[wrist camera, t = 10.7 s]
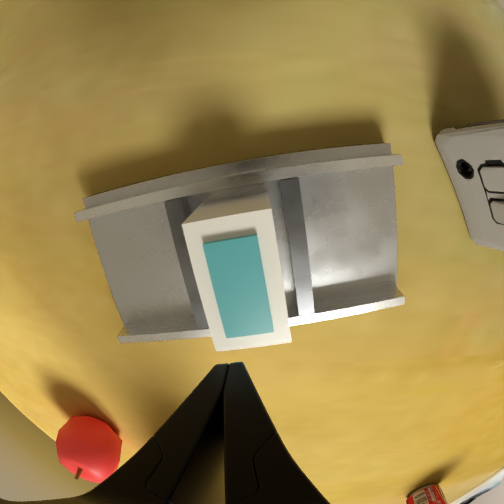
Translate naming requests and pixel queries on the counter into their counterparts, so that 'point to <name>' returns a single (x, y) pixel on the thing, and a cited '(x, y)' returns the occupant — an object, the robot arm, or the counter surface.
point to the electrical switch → (477, 177)
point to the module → (238, 271)
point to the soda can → (427, 495)
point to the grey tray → (286, 228)
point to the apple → (88, 448)
